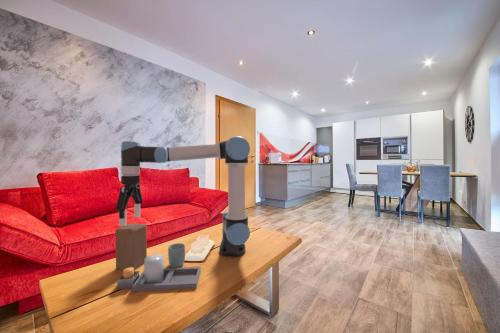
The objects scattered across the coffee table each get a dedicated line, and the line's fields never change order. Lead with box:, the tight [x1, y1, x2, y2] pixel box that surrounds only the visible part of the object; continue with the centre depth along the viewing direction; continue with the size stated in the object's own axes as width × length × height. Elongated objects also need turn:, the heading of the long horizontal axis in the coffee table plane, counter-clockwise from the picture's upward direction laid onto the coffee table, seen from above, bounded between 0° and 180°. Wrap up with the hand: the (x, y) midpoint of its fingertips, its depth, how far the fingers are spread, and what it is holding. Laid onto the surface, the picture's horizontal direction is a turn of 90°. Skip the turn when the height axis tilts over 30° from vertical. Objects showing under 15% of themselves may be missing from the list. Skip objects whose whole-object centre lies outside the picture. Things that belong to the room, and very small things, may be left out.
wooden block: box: [115, 222, 148, 271], centre depth 104 cm, size 10×10×20 cm
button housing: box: [116, 270, 140, 290], centre depth 88 cm, size 6×6×4 cm
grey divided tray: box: [131, 266, 202, 293], centre depth 91 cm, size 25×14×3 cm, turn 96°
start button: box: [122, 267, 135, 278], centre depth 88 cm, size 4×4×4 cm
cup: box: [167, 243, 186, 268], centre depth 105 cm, size 8×8×10 cm
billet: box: [143, 253, 165, 284], centre depth 91 cm, size 8×8×10 cm
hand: (130, 221), depth 98 cm, fingers open, 13 cm apart
